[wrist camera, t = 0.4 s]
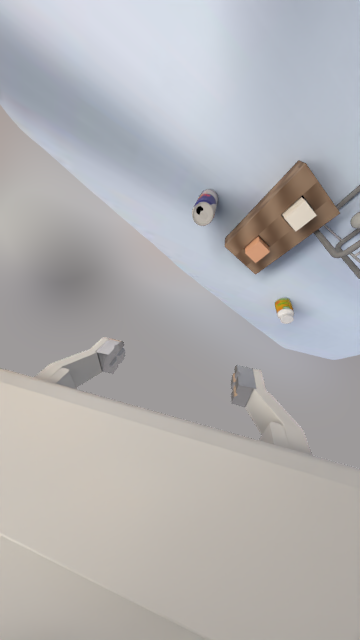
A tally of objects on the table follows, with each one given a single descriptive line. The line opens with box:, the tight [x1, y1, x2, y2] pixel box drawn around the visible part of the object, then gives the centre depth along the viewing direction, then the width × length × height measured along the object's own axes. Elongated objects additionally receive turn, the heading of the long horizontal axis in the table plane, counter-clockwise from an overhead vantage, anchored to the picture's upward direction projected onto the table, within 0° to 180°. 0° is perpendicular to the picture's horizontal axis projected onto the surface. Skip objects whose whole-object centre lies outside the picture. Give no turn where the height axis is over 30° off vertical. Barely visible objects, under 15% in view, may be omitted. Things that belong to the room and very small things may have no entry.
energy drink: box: [192, 189, 218, 226], centre depth 42 cm, size 5×5×12 cm
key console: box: [225, 161, 340, 274], centre depth 45 cm, size 22×14×6 cm, turn 145°
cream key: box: [282, 197, 317, 231], centre depth 39 cm, size 4×4×4 cm
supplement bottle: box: [275, 297, 294, 324], centre depth 62 cm, size 5×5×10 cm
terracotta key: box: [245, 235, 270, 263], centre depth 46 cm, size 4×4×4 cm
